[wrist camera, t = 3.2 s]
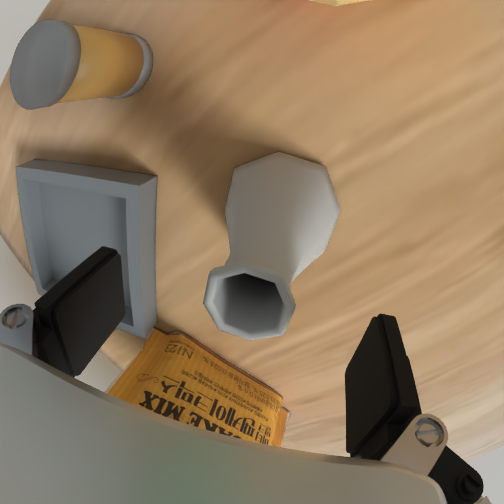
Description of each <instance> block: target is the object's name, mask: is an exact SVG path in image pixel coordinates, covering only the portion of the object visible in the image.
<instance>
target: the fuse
mask: <svg viewBox="0 0 504 504" xmlns="http://www.w3.org/2000/svg"><path fill="white" fill-rule="evenodd" d="M152 66H153V54H152V50H151V48H150V45H149V44H148V43H147V42H146V40H144V39H143V38H141V37H139V36H136V35H132V34H128V33H117V32H113V31H108V30H103V29H98V28H92V27H86V26H80V25H74V24H70V23H68V22H65V21H58V20H50V19H48V20H42V21H40V22H38V23H36V24H34V25H33V26H32V27H31V28H30V29H29V30H28V31H27V32H26V33H25V35H24V36H23V37H22V39H21V40H20V42H19V44H18V46H17V48H16V50H15V53H14V56H13V60H12V64H11V71H10V83H11V89H12V93H13V96H14V98H15V100H16V101H17V103H18V104H19V105H20V106H21V107H23V108H25V109H31V110H32V109H37V108H42V107H48V106H51V105H54V104H55V103H62V102H69V101H77V100H85V99H95V98H124V97H128V96H131V95H133V94H135V93H136V92H138V91H139V90H140V89H141V88H142V87H143V86H144V84H145V83H146V82H147V80H148V78H149V76H150V74H151V71H152Z"/></svg>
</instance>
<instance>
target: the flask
mask: <svg viewBox="0 0 504 504" xmlns="http://www.w3.org/2000/svg"><path fill="white" fill-rule="evenodd" d="M340 212H341V210H340V207H339V204H338V201H337V198H336V195H335V192H334V189H333V186H332V183H331V180H330V177H329V174H328V171H327V168H326V166H323V165H320V164H317V163H314V162H311V161H307V160H304V159H301V158H298V157H295V156H292V155H288V154H285V153H282V152H276V153H273V154H270V155H268V156H265V157H262V158H259V159H257V160H254V161H251V162H249V163H246V164H243V165H241V166H238V167H235V168H234V172H233V176H232V181H231V185H230V189H229V193H228V198H227V202H226V206H225V217H226V222H227V227H228V234H229V244H230V256H229V258H228V259H227V261H226V263H225V265H224V266H221V267H217V268H214V269H212V270H211V271H210V273H209V276H208V281H207V286H206V291H205V296H204V301H203V304H204V305H205V307H206V309H207V311H208V312H209V314H210V316H211V318H212V319H213V321H214V323H215V325H216V326H217V328H218V330H221V331H224V332H227V333H230V334H233V335H236V336H239V337H242V338H245V339H248V340H258V339H264V338H269V337H275V336H281V335H283V334H284V332H285V330H286V328H287V326H288V323H289V321H290V319H291V316H292V314H293V312H294V310H295V306H296V304H295V300H294V298H293V295H292V293H291V290H290V286H291V284H292V282H293V280H294V278H295V277H296V276H297V275H299V274H300V273H301V272H302V271H303V270H304V269H305V268H306V267H307V266H308V265H309V264H310V263H311V262H312V261H314V260H315V259H316V258H317V257H319V256H320V255H321V254H322V253H323V252H324V251H325V249H326V247H327V245H328V242H329V240H330V237H331V235H332V232H333V230H334V227H335V224H336V222H337V219H338V217H339V214H340Z"/></svg>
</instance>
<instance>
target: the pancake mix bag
mask: <svg viewBox="0 0 504 504" xmlns="http://www.w3.org/2000/svg"><path fill="white" fill-rule="evenodd" d="M105 393H107V394H109V395H111V396H114V397H116V398H118V399H121V400H123V401H125V402H128V403H130V404H133V405H135V406H138V407H140V408H143V409H146V410H148V411H151V412H153V413H156V414H159V415H162V416H165V417H167V418H170V419H173V420H176V421H179V422H182V423H185V424H189V425H192V426H195V427H198V428H202V429H205V430H209V431H212V432H216V433H219V434H223V435H227V436H231V437H235V438H239V439H243V440H247V441H252V442H256V443H261V444H266V445H271V446H276V447H281V445H282V441H283V436H284V432H285V429H286V425H287V422H288V420H289V418H290V415H291V413H289V412H288V411H287V410H286V409H284V408H283V407H282V406H281V405H282V399H283V397H282V396H280V395H279V394H278V393H277V392H275V391H274V390H273V389H272V388H270V387H268V386H266V385H265V384H263V383H261V382H260V381H258V380H257V379H255V378H253V377H252V376H250V375H249V374H247V373H245V372H244V371H242V370H240V369H239V368H237V367H236V366H234V365H232V364H231V363H229V362H227V361H225V360H224V359H222V358H221V357H219V356H218V355H216V354H215V353H214V352H212V351H211V350H210V349H208V348H207V347H205V346H204V345H202V344H201V343H199V342H198V341H196V340H195V339H193V338H191V337H189V336H188V335H186V334H184V333H182V332H181V331H179V332H174V333H169V334H166V333H164V332H162V331H159V330H157V329H155V328H152V330H151V331H150V333H149V334H148V336H147V338H146V341H145V344H144V347H143V350H142V351H141V352H140V353H139V354H138V355H137V356H136V357H135V358H134V359H133V360H132V361H131V362H130V363H129V364H128V366H127V367H126V368H125V369H124V370H123V371H122V372H121V374H119V375H118V377H117V378H116V379H115V380H114V381H113V382H112V383H111V385H110V386H109V387H108V389H107V390H106V391H105Z"/></svg>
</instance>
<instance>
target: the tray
mask: <svg viewBox="0 0 504 504" xmlns="http://www.w3.org/2000/svg"><path fill="white" fill-rule="evenodd" d="M16 175H17V186H18V195H19V203H20V210H21V217H22V223H23V229H24V235H25V240H26V245H27V250H28V255H29V259H30V264H31V268H32V272H33V276H34V280H35V284H36V287H37V291H38V294H40V295H42V296H43V295H44V294H45V293H46V292H47V291H49V290H50V289H51V288H52V287H53V286H54V285H55V284H57V283H58V282H59V281H60V280H61V279H62V278H64V277H65V276H66V275H67V274H68V273H70V272H71V271H72V270H73V269H74V268H76V267H77V266H78V265H79V264H80V263H82V262H83V261H84V260H85V259H87V258H88V257H89V256H90V255H92V254H93V253H94V252H95V251H97V250H98V249H99V248H100V247H102V246H106V247H109V248H113V249H116V250H117V251H118V254H120V255H121V261H122V277H123V289H124V300H125V316H124V318H123V319H122V321H121V322H120V323H119V324H118V326H117V327H116V328H117V329H120V330H122V331H125V332H127V333H130V334H133V335H135V336H138V337H141V338H144V339H146V337H147V336H148V334H149V333H150V331H151V330H152V328H153V327H154V325H155V324H156V322H157V308H156V271H155V235H156V198H157V178H158V176H154V175H148V174H142V173H136V172H129V171H123V170H116V169H110V168H103V167H96V166H88V165H81V164H73V163H65V162H57V161H48V160H39V159H34V160H32V161H29V162H26V163H24V164H21V165H19V166H16Z"/></svg>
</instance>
